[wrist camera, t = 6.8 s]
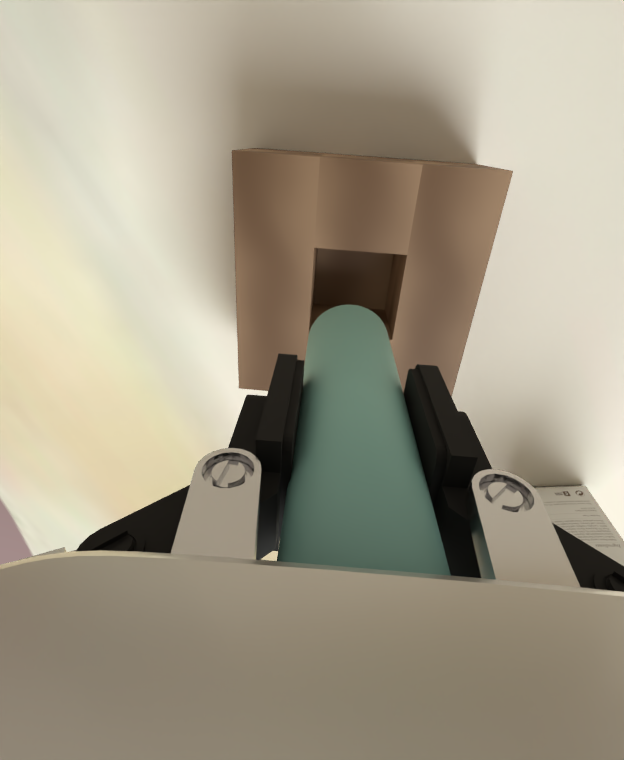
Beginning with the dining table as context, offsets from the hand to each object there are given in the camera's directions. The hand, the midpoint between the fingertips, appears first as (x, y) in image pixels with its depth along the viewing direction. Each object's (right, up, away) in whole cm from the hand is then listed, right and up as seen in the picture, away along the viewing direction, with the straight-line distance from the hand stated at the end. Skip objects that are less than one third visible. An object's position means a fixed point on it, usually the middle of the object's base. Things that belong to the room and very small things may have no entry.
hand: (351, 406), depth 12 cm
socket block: (+1, +8, +13) cm, 16 cm away
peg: (0, +2, +4) cm, 4 cm away
